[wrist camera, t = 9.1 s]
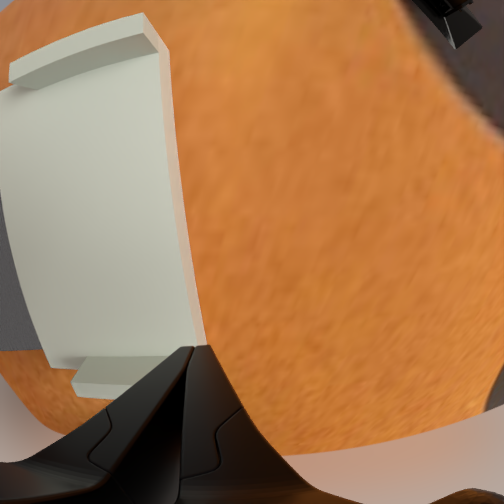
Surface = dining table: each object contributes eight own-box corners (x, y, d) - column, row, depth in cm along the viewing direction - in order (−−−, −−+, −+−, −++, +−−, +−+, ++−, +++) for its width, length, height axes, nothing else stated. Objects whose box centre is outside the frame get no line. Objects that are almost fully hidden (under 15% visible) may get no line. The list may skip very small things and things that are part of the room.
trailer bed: (207, 344, 22) (198, 399, 16) (66, 347, 22) (33, 391, 16) (169, 51, 16) (143, 12, 11) (19, 98, 16) (-33, 89, 10)
